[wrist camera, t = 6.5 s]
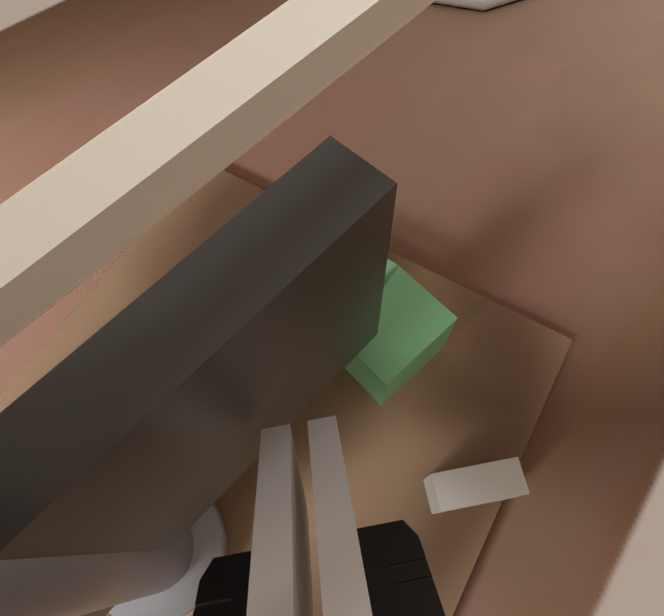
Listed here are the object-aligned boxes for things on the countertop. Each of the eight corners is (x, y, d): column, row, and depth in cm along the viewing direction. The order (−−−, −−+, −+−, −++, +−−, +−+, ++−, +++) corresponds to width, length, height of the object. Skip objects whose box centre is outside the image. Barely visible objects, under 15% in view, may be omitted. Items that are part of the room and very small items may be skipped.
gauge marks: (219, 287, 22) (200, 253, 20) (314, 219, 24) (309, 177, 21) (451, 560, 18) (470, 564, 15) (554, 455, 19) (588, 441, 16)
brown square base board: (-98, 537, 20) (-125, 538, 19) (209, 175, 26) (203, 160, 25) (320, 896, 15) (317, 924, 14) (561, 349, 22) (572, 339, 21)
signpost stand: (154, 654, 17) (-824, 1238, 3) (77, 551, 18) (-842, 598, 4) (430, 351, 21) (594, -31, 7) (350, 285, 22) (349, -145, 8)
